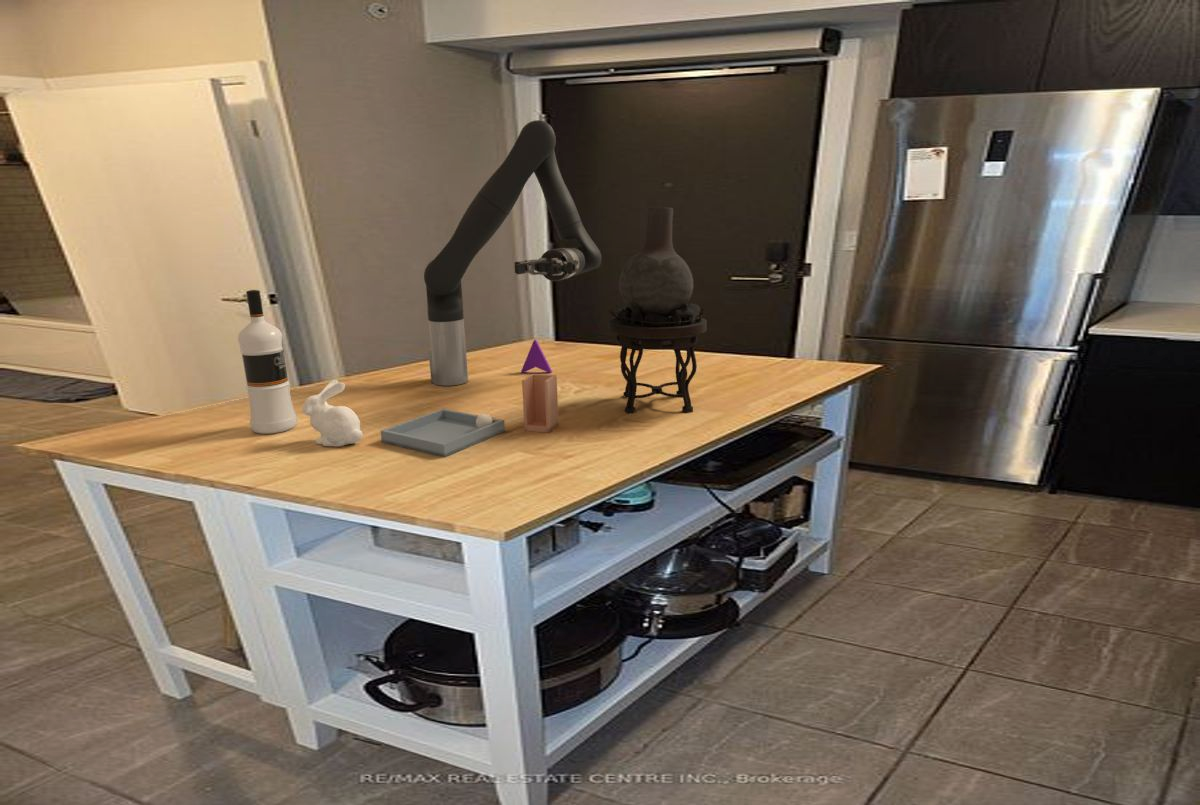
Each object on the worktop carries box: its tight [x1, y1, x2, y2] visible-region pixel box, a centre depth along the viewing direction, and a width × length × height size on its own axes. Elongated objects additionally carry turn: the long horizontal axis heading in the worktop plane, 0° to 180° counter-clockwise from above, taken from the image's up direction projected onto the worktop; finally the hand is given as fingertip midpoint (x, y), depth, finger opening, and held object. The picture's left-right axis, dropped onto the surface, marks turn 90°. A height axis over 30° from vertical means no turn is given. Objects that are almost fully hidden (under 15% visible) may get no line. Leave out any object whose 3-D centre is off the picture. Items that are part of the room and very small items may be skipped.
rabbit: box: [302, 379, 364, 447], centre depth 136 cm, size 12×9×12 cm
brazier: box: [607, 206, 708, 414], centre depth 154 cm, size 22×22×45 cm
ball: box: [476, 413, 493, 428], centre depth 141 cm, size 3×3×3 cm
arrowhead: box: [520, 339, 553, 374], centre depth 192 cm, size 10×2×10 cm
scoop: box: [521, 373, 559, 433], centre depth 142 cm, size 6×6×11 cm
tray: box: [380, 408, 506, 458], centre depth 139 cm, size 18×18×2 cm
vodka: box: [237, 289, 298, 435], centre depth 143 cm, size 9×9×30 cm
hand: (534, 269), depth 150 cm, fingers open, 8 cm apart
